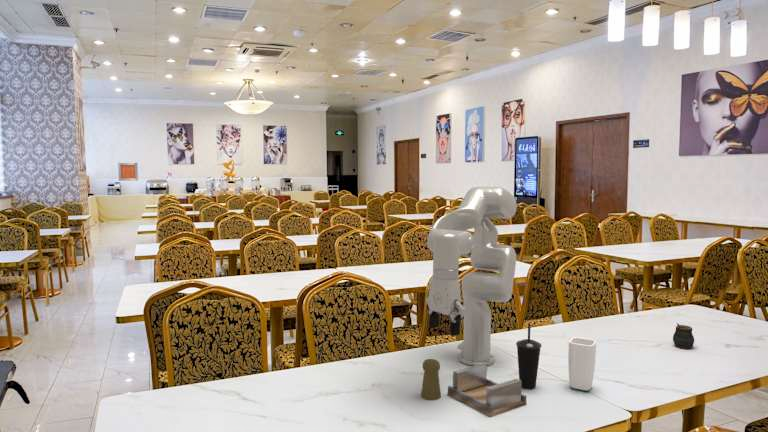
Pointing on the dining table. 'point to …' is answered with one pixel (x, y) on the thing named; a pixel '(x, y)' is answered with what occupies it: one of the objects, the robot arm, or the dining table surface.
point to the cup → (581, 363)
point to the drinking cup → (528, 361)
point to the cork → (431, 380)
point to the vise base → (482, 398)
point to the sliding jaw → (470, 377)
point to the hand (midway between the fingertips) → (444, 331)
